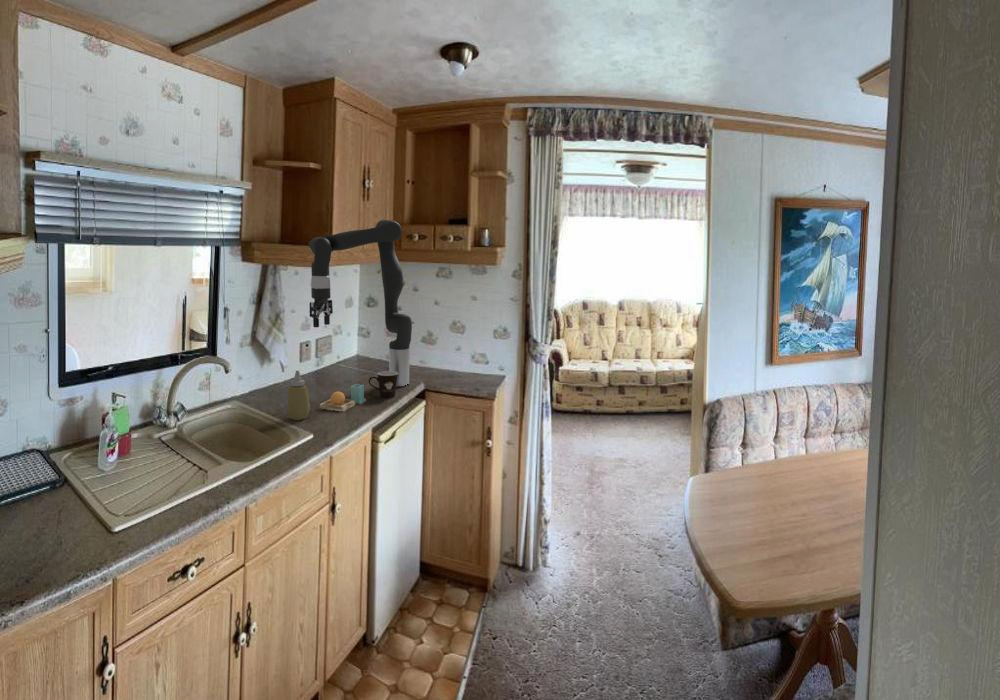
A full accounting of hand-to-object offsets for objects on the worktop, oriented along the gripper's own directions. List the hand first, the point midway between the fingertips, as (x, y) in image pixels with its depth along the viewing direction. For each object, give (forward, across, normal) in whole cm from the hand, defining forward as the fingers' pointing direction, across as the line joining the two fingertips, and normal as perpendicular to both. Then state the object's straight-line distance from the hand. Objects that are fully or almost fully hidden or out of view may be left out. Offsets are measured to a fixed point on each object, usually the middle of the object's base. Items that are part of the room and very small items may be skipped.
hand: (321, 325), depth 237 cm
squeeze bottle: (+30, +31, +8) cm, 44 cm away
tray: (+30, +13, +14) cm, 36 cm away
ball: (+26, +13, +14) cm, 33 cm away
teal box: (+30, +4, +18) cm, 35 cm away
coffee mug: (+30, -9, +24) cm, 40 cm away
